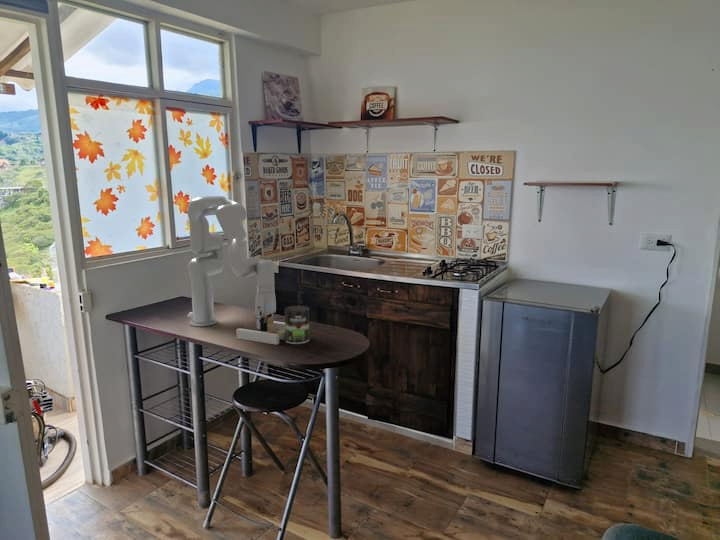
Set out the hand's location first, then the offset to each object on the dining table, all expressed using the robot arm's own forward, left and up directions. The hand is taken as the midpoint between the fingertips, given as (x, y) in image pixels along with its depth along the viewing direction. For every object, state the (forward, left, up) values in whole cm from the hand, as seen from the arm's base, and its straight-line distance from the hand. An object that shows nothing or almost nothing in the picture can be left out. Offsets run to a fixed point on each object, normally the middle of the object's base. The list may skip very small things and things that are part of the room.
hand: (266, 329), depth 217 cm
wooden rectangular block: (+4, 0, -3) cm, 5 cm away
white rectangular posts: (0, 0, -3) cm, 3 cm away
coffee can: (+15, 0, -3) cm, 16 cm away
